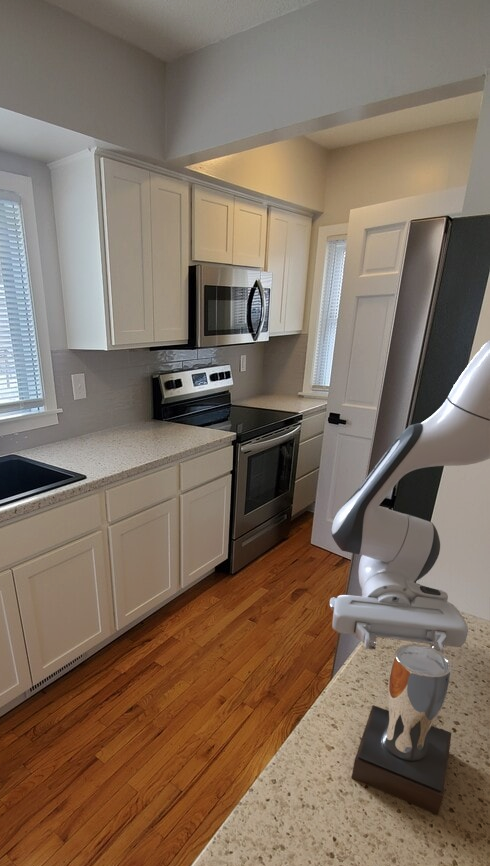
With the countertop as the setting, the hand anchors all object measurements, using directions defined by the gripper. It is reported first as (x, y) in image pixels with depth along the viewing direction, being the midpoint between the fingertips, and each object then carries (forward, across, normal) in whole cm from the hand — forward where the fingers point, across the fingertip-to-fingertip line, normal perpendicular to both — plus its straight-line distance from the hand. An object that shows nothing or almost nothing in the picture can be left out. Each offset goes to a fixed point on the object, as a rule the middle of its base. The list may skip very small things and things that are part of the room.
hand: (403, 649), depth 74 cm
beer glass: (+10, 0, +9) cm, 14 cm away
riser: (+10, 0, +13) cm, 16 cm away
